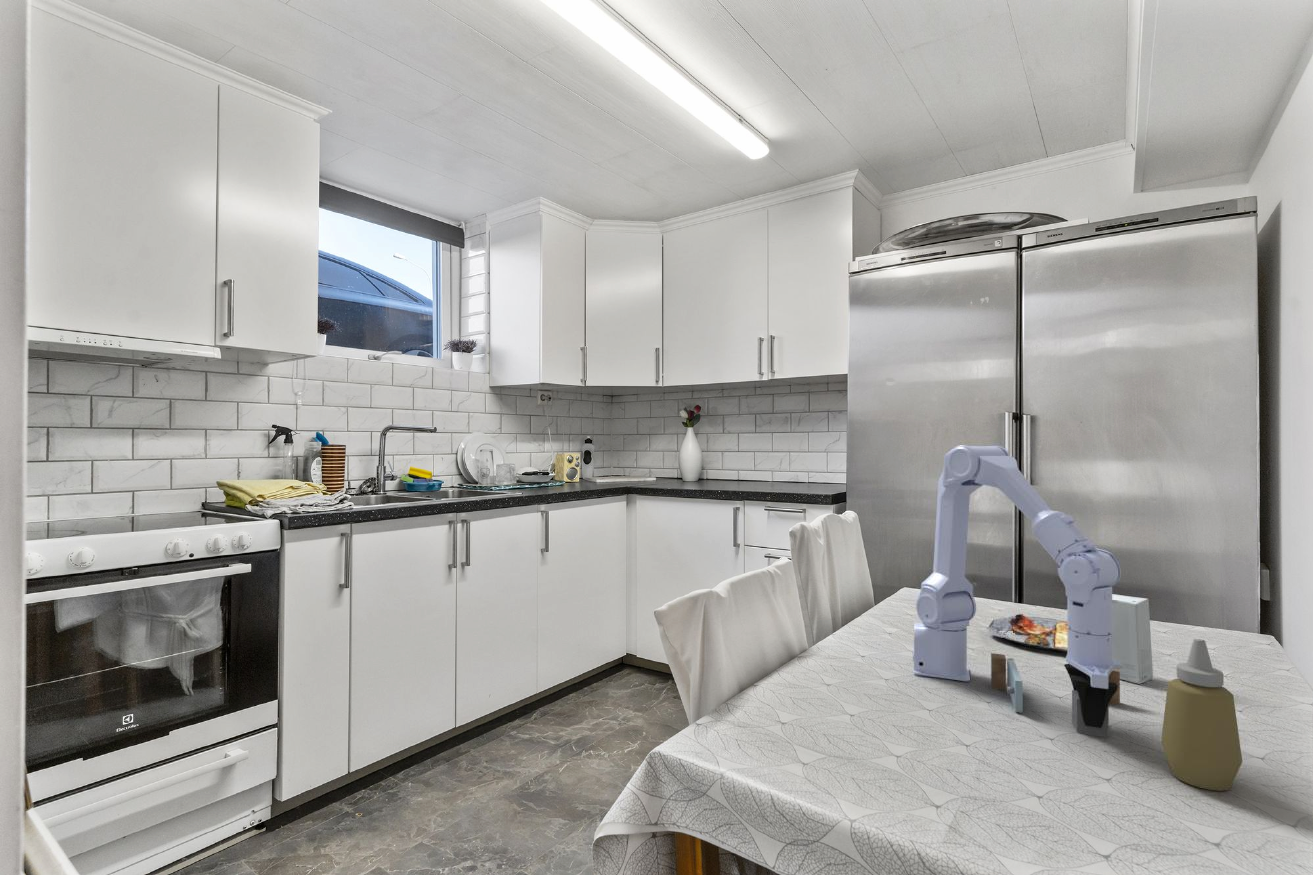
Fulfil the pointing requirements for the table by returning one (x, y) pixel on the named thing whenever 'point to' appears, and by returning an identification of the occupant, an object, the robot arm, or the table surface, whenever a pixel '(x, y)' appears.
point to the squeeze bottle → (1201, 724)
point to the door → (1014, 685)
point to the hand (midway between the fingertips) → (1089, 720)
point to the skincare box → (1132, 638)
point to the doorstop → (1079, 721)
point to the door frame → (1000, 676)
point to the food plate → (1033, 631)
